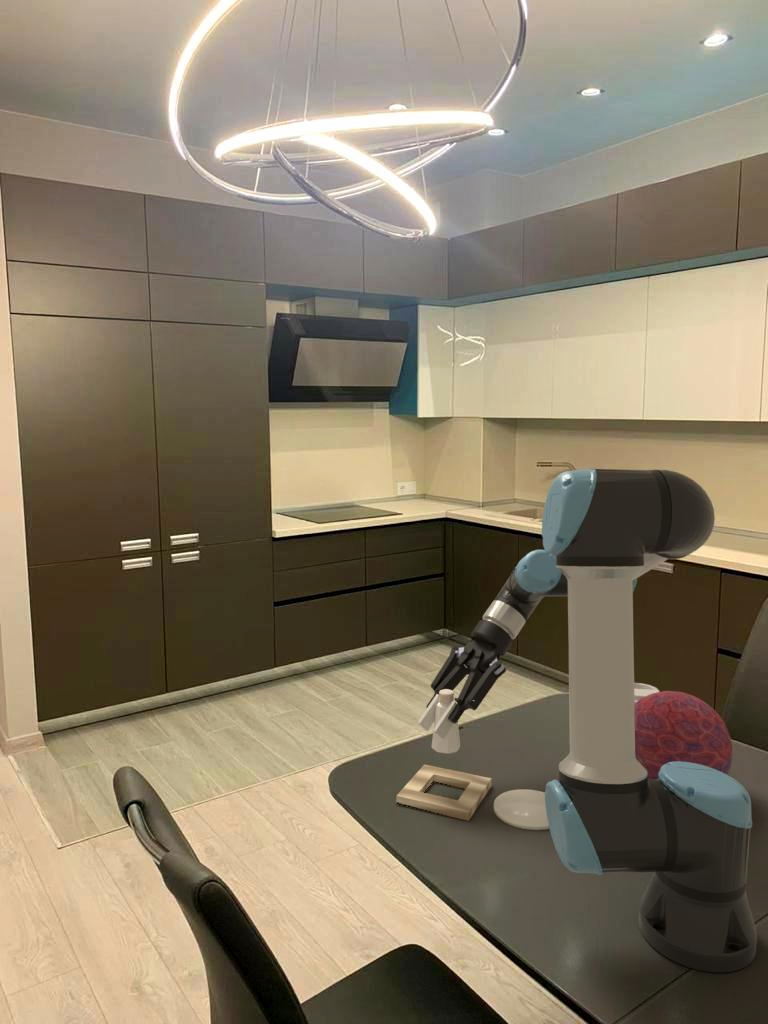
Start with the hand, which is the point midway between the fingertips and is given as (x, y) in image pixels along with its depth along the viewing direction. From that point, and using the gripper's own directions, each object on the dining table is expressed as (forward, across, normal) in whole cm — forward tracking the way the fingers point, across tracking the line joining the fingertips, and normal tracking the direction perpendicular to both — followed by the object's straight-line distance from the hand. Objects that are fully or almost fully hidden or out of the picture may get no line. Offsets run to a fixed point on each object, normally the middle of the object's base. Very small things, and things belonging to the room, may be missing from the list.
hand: (430, 730), depth 140 cm
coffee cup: (-24, -11, -43) cm, 50 cm away
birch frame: (+7, 0, -12) cm, 14 cm away
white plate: (+1, -13, -18) cm, 23 cm away
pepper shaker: (0, 0, -6) cm, 6 cm away
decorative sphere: (-18, -25, -37) cm, 48 cm away
